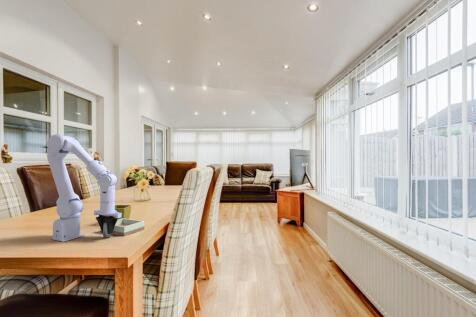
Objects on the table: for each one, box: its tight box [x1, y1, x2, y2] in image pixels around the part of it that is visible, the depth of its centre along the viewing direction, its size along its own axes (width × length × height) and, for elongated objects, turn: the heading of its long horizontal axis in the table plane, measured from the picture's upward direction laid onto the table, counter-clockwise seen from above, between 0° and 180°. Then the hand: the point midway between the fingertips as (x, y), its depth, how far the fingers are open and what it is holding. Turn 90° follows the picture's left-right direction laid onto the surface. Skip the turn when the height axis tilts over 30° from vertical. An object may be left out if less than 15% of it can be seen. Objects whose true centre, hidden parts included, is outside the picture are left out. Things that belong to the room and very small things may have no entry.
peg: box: [102, 222, 112, 238], centre depth 113 cm, size 3×3×6 cm
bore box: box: [111, 218, 145, 237], centre depth 123 cm, size 12×14×4 cm
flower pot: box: [115, 204, 132, 219], centre depth 136 cm, size 9×9×9 cm
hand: (107, 233), depth 113 cm, fingers closed on peg, 3 cm apart
